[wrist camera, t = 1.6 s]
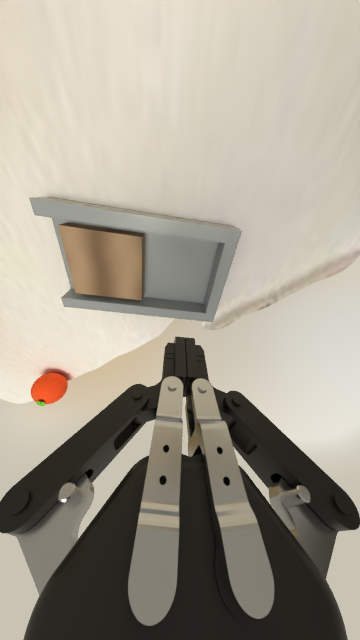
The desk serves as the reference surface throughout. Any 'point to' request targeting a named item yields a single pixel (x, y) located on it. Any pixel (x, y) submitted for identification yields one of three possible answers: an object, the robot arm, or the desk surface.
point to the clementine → (49, 388)
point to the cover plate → (105, 260)
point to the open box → (156, 259)
